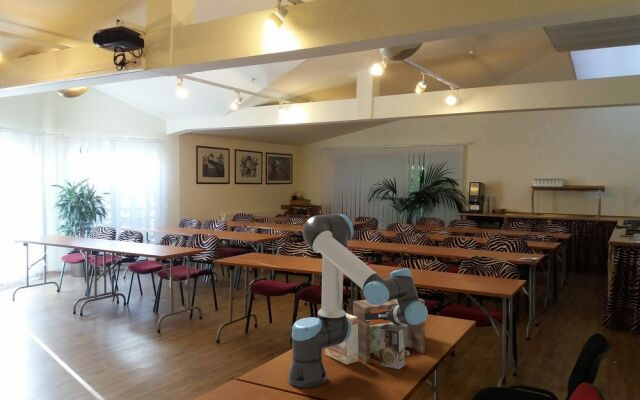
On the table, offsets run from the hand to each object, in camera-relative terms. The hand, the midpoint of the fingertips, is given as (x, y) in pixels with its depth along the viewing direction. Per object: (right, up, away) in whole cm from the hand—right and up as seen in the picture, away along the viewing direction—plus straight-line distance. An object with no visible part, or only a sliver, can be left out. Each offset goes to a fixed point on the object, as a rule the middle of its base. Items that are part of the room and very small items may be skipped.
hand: (382, 317), depth 196 cm
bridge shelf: (+6, -21, +19) cm, 29 cm away
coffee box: (+5, -22, +6) cm, 23 cm away
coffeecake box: (-16, -22, +14) cm, 31 cm away
